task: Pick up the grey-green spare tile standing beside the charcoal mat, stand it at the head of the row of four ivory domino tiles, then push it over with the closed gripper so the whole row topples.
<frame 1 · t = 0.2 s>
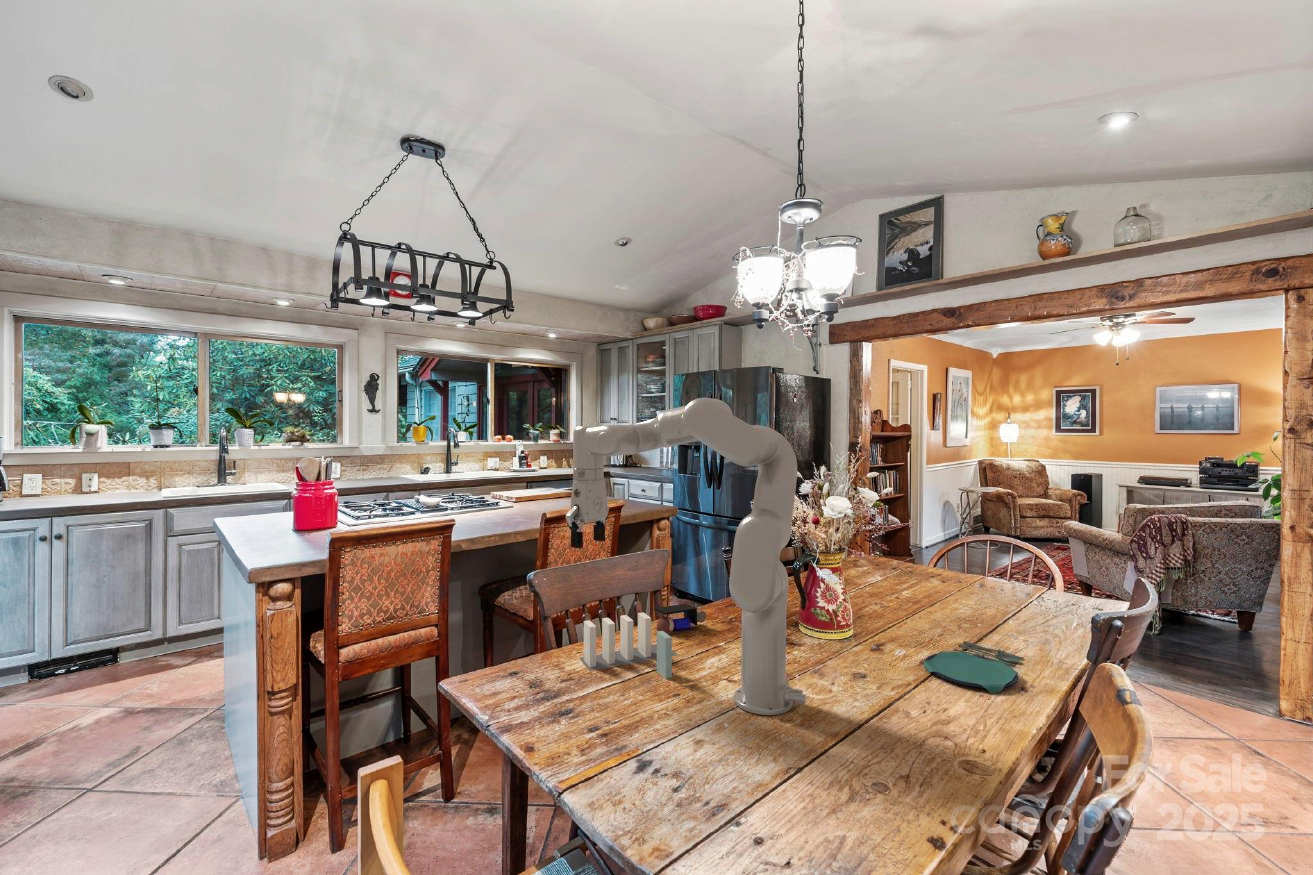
hand: (588, 544, 144), 31 cm above the table, tool pointing down, fingers open, 9 cm apart
ivory tile 1: (644, 653, 152), resting on mat
ivory tile 4: (589, 663, 146), resting on mat
spare tile: (664, 675, 139), on the table
ivory tile 3: (608, 659, 148), resting on mat
cutlery set: (977, 670, 144), on the table
ivory tile 2: (626, 656, 150), resting on mat
mat: (628, 657, 150), on the table
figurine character: (679, 630, 171), on the table
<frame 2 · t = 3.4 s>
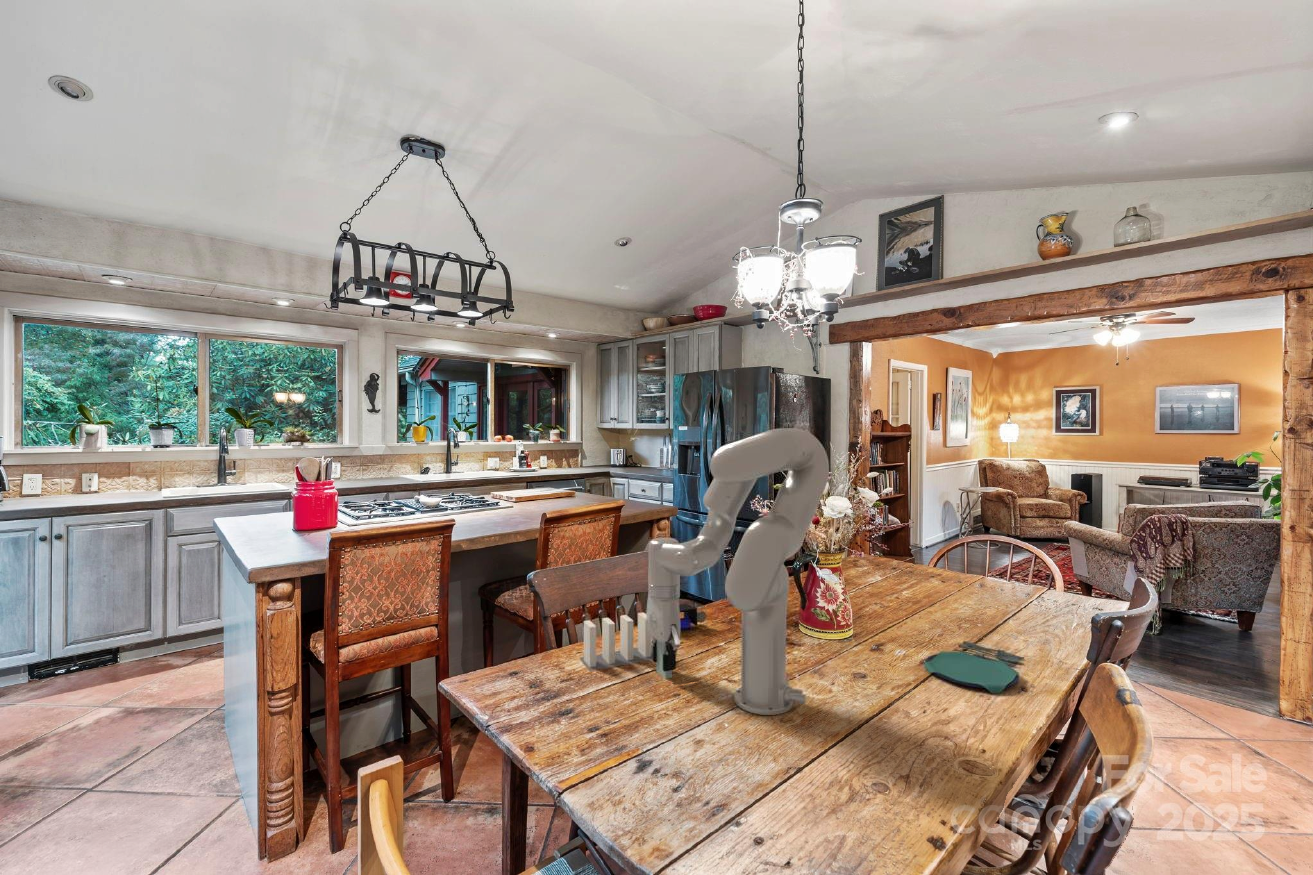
hand: (664, 664, 139), 3 cm above the table, tool pointing down, fingers closed on spare tile, 4 cm apart
spare tile: (664, 675, 139), on the table, touching gripper
everything else where it was.
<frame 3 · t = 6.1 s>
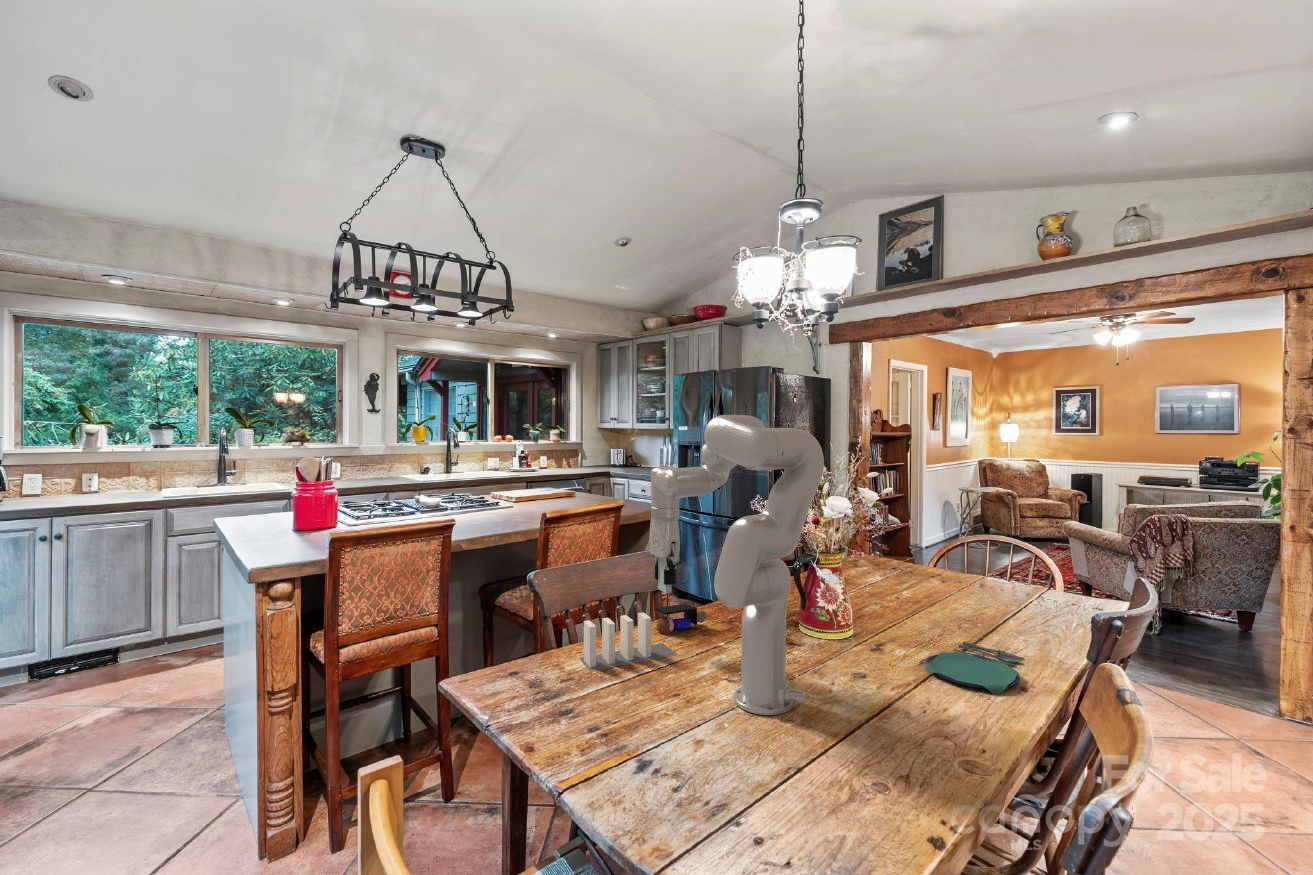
hand: (664, 580, 154), 19 cm above the table, tool pointing down, fingers closed on spare tile, 4 cm apart
spare tile: (664, 590, 154), point 16 cm above the table, touching gripper
everything else where it was.
when the fingers open (3 cm above the table, at t = 9.2 s): spare tile stays where it is, resting on mat.
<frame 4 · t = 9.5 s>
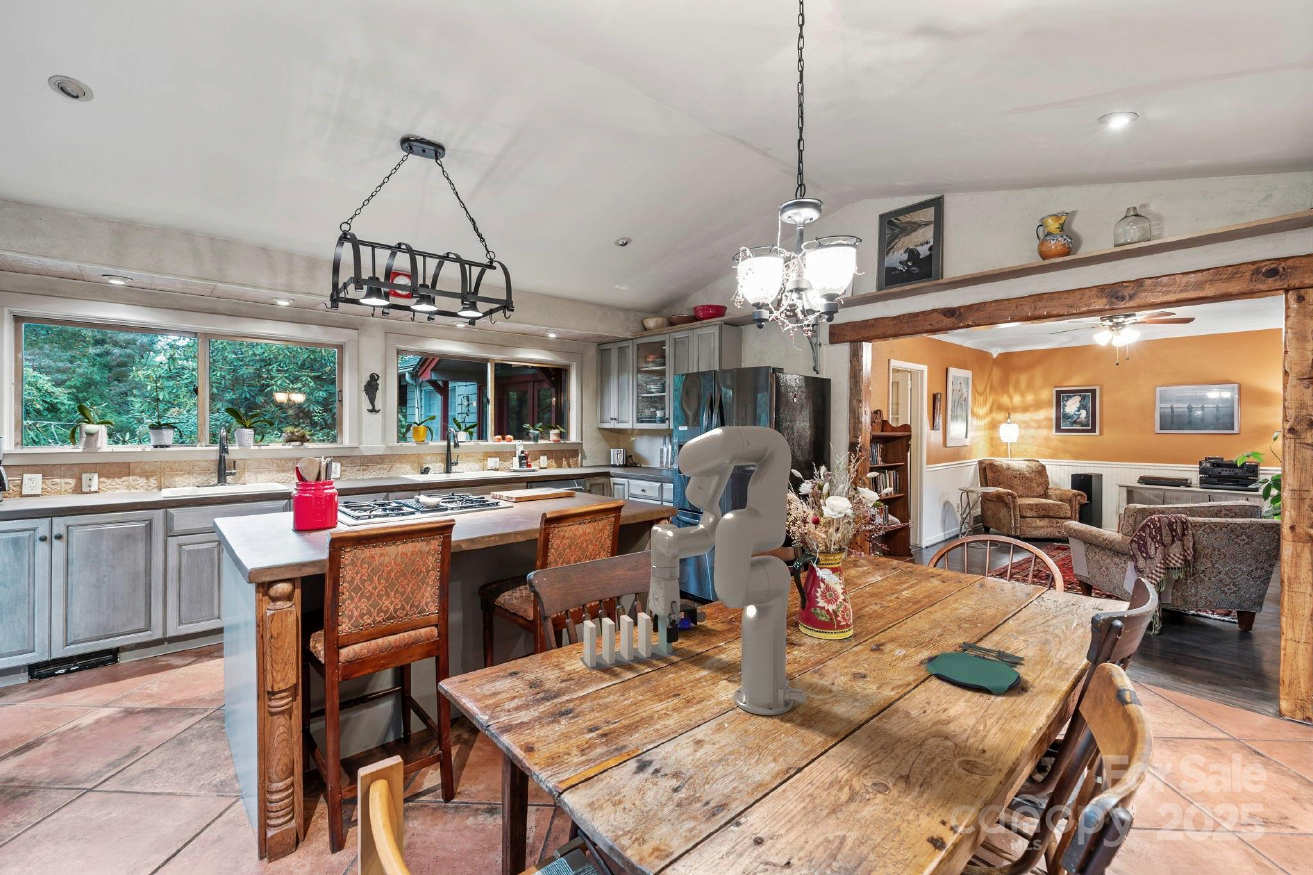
hand: (665, 636, 155), 4 cm above the table, tool pointing down, fingers open, 8 cm apart
spare tile: (665, 649, 155), resting on mat
everything else where it was.
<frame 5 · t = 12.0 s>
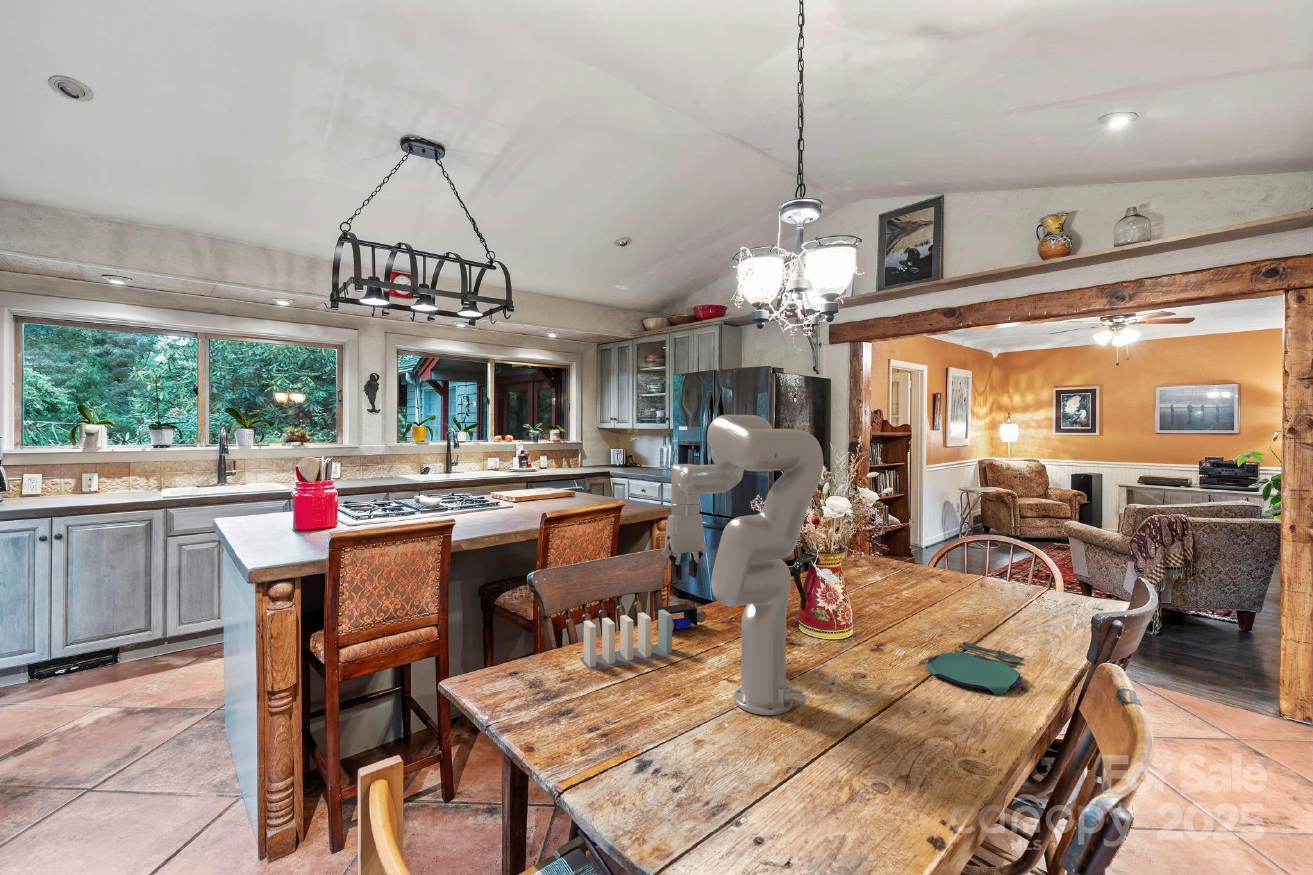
hand: (685, 576, 157), 19 cm above the table, tool pointing down, fingers open, 3 cm apart
nothing on the table moved.
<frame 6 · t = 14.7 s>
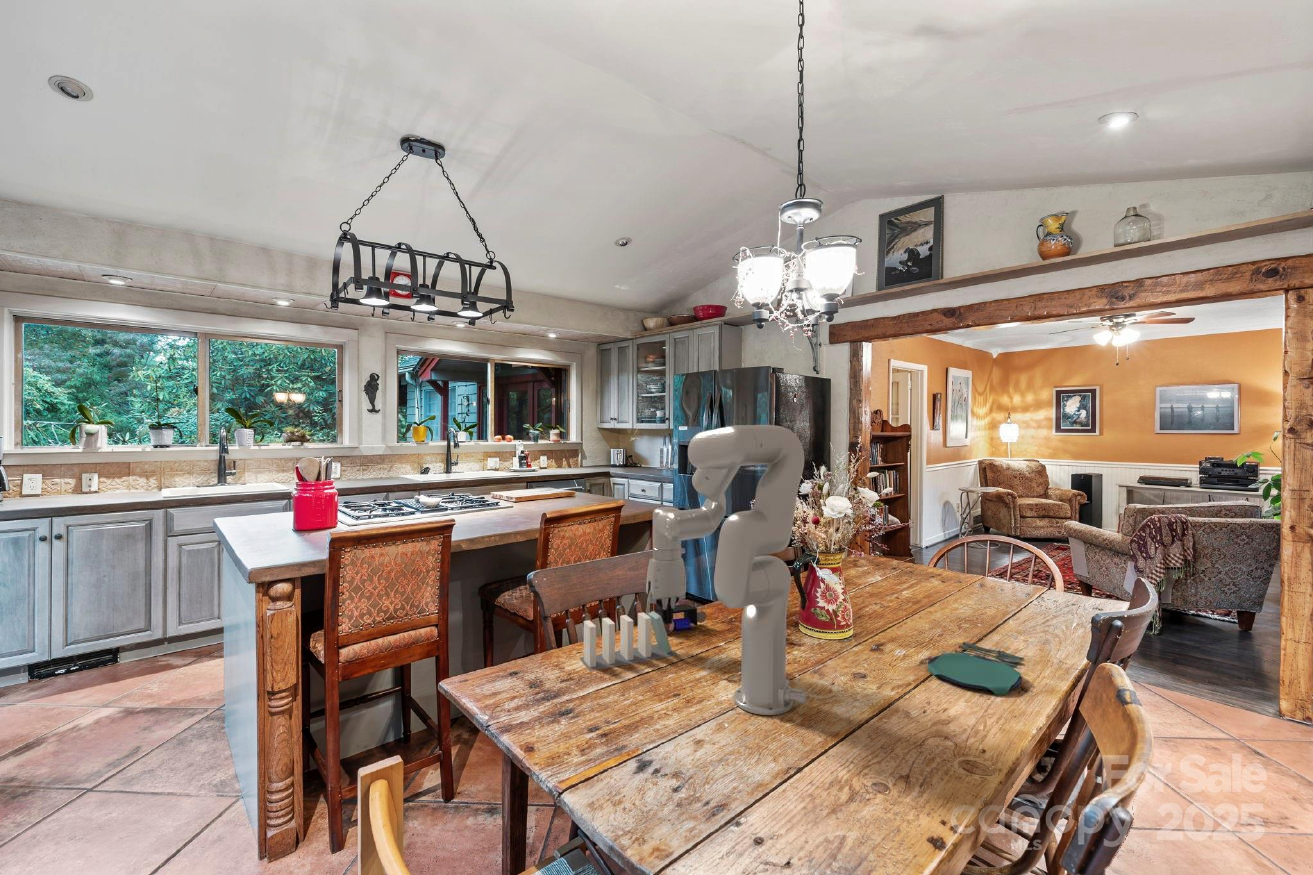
hand: (666, 622, 155), 8 cm above the table, tool pointing down, fingers closed
spare tile: (664, 649, 155), point 1 cm above the table, tilted 18°, touching mat
everything else where it was.
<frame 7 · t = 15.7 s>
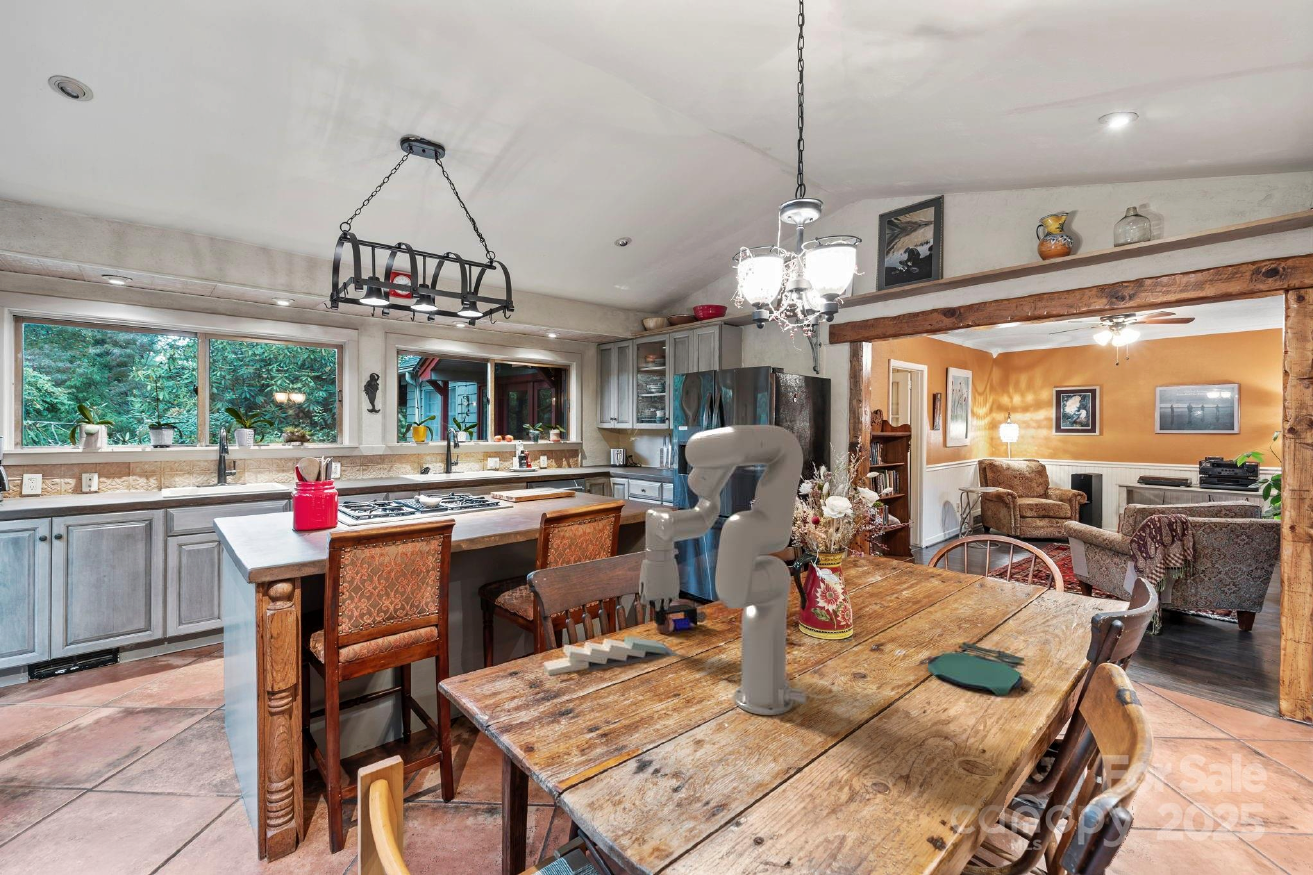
hand: (659, 623, 154), 8 cm above the table, tool pointing down, fingers closed
ivory tile 1: (640, 651, 152), point 1 cm above the table, tilted 71°, touching ivory tile 2, spare tile
ivory tile 4: (585, 660, 145), point 1 cm above the table, tilted 92°, touching ivory tile 3, mat
spare tile: (661, 647, 154), point 1 cm above the table, tilted 73°, touching ivory tile 1, mat
ivory tile 3: (603, 657, 147), point 1 cm above the table, tilted 72°, touching ivory tile 2, ivory tile 4
ivory tile 2: (623, 654, 150), point 1 cm above the table, tilted 72°, touching ivory tile 1, ivory tile 3, mat
everything else where it was.
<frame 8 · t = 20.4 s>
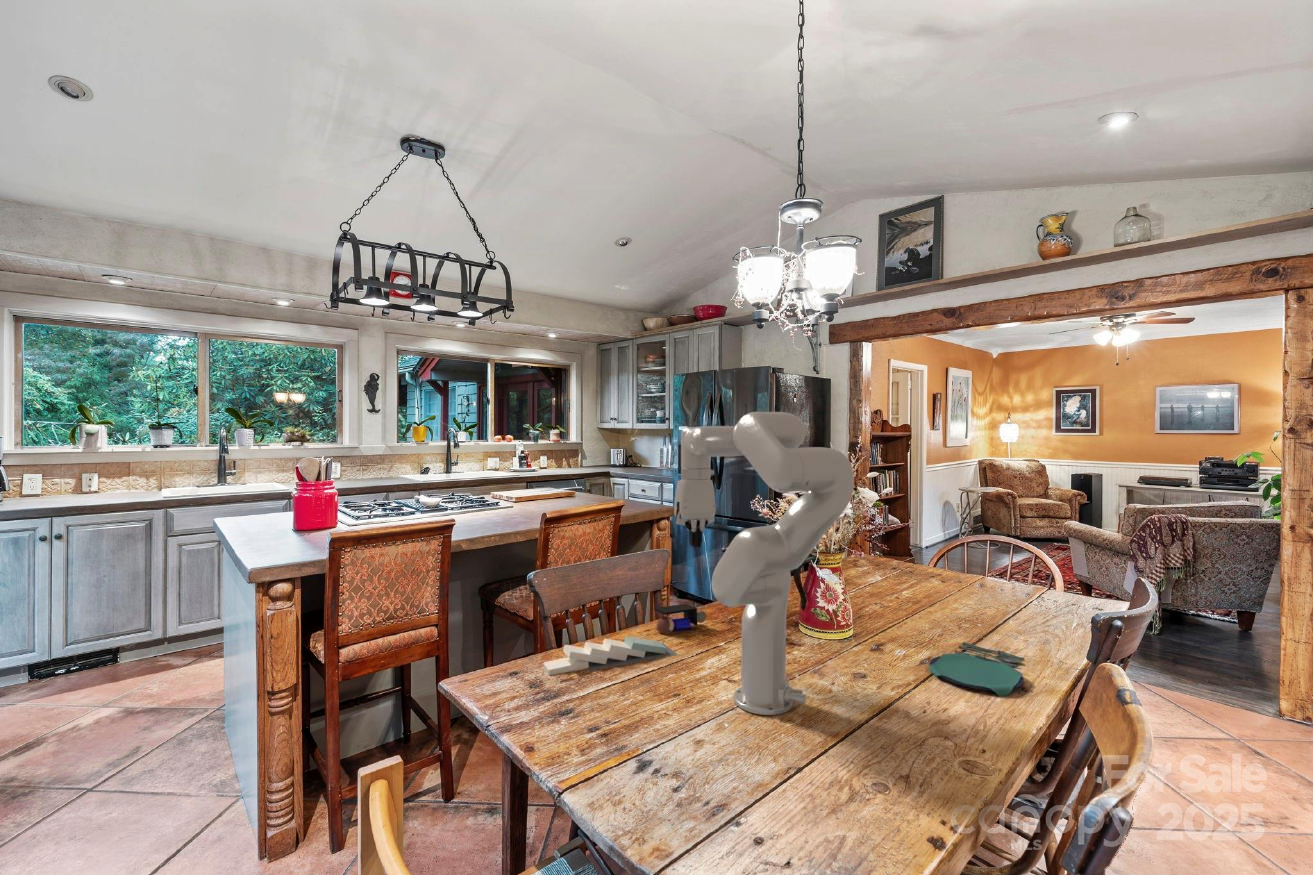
hand: (695, 546, 149), 29 cm above the table, tool pointing down, fingers closed
ivory tile 1: (640, 651, 152), point 1 cm above the table, tilted 71°, touching ivory tile 2, mat, spare tile
at the end: ivory tile 4 tilted 92°; spare tile tilted 73°; spare tile inside the target area (0.4 cm from its centre), point 1.2 cm above the table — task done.
